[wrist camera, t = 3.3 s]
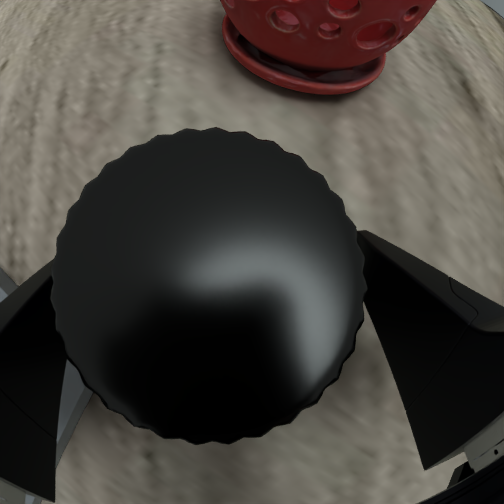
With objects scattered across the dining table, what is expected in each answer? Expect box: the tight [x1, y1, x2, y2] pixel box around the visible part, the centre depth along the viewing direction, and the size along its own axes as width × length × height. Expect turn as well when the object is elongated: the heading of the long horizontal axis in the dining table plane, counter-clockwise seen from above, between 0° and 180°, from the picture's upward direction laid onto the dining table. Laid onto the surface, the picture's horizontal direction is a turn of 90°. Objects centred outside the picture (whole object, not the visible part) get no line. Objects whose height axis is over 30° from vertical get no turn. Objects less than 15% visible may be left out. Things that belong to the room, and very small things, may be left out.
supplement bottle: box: [50, 127, 368, 445], centre depth 10 cm, size 7×7×12 cm
